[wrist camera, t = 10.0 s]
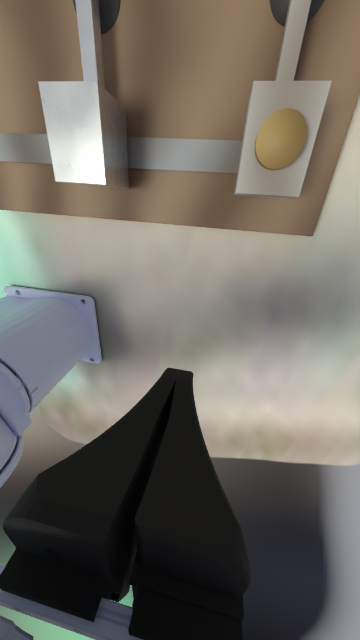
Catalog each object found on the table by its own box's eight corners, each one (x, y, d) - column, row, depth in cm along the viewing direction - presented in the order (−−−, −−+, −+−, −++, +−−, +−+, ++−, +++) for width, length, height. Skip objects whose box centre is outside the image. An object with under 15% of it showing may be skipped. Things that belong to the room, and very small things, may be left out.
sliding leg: (87, 186, 15) (55, 181, 12) (64, -12, 11) (9, -87, 8) (128, 188, 15) (105, 184, 12) (120, -16, 11) (82, -95, 8)
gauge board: (8, 209, 19) (-69, 209, 14) (-69, -76, 12) (-270, -268, 7) (306, 234, 15) (343, 247, 11) (422, -134, 9) (664, -550, 4)
